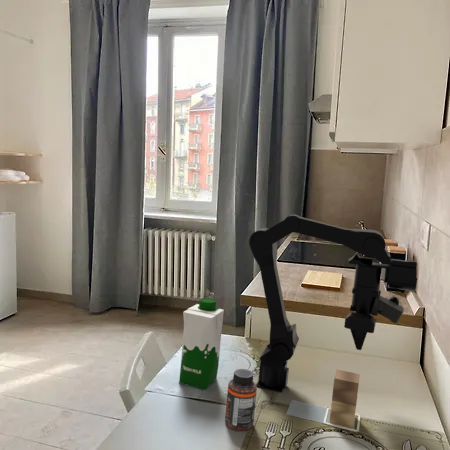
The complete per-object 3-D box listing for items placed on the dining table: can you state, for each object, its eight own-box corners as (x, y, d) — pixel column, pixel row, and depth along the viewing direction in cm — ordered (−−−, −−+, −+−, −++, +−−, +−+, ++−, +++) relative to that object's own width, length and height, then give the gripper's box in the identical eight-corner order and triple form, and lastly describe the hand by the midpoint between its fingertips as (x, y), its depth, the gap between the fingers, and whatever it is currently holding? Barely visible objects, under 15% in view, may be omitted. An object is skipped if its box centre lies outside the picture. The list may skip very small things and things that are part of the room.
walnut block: (331, 400, 98) (334, 378, 97) (334, 390, 103) (336, 369, 102) (355, 406, 96) (358, 383, 96) (357, 395, 101) (359, 374, 100)
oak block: (329, 422, 98) (331, 400, 98) (331, 411, 103) (334, 390, 103) (353, 428, 97) (356, 406, 96) (354, 417, 102) (357, 395, 101)
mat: (286, 414, 100) (286, 413, 100) (292, 400, 107) (292, 399, 107) (354, 431, 96) (354, 431, 96) (355, 416, 102) (356, 415, 102)
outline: (323, 423, 98) (323, 422, 98) (327, 408, 105) (327, 407, 105) (358, 432, 95) (358, 431, 95) (360, 415, 102) (360, 415, 102)
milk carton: (221, 378, 116) (228, 301, 113) (206, 393, 107) (213, 310, 105) (190, 369, 119) (196, 295, 116) (173, 383, 110) (179, 303, 108)
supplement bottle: (223, 416, 98) (228, 365, 96) (250, 417, 98) (255, 366, 97) (225, 432, 92) (230, 378, 91) (255, 433, 92) (260, 379, 91)
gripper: (403, 300, 94) (394, 372, 96) (404, 282, 111) (396, 344, 113) (348, 290, 98) (340, 360, 100) (357, 275, 115) (350, 334, 117)
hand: (358, 349), depth 107 cm, fingers closed
